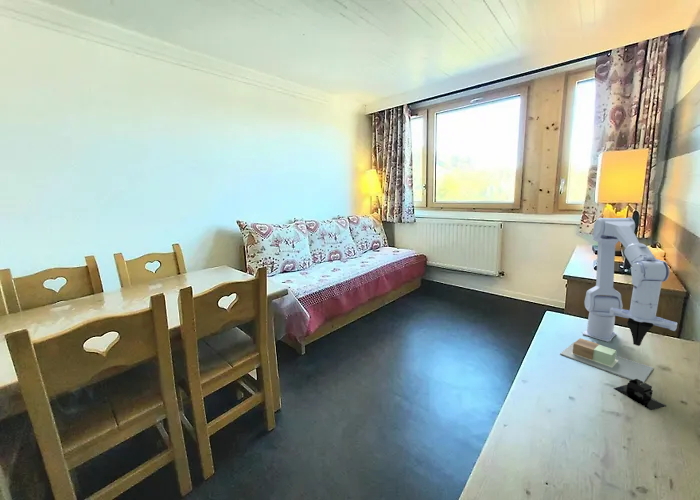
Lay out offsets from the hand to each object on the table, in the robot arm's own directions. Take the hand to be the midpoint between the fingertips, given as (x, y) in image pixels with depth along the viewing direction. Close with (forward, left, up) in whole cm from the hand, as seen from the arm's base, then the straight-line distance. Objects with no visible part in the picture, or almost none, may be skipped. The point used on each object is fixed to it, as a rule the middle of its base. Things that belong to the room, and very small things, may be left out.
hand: (637, 344), depth 95 cm
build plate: (0, -7, -9) cm, 11 cm away
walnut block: (0, -12, -9) cm, 15 cm away
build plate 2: (+14, +4, -10) cm, 17 cm away
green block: (0, -7, -9) cm, 11 cm away
